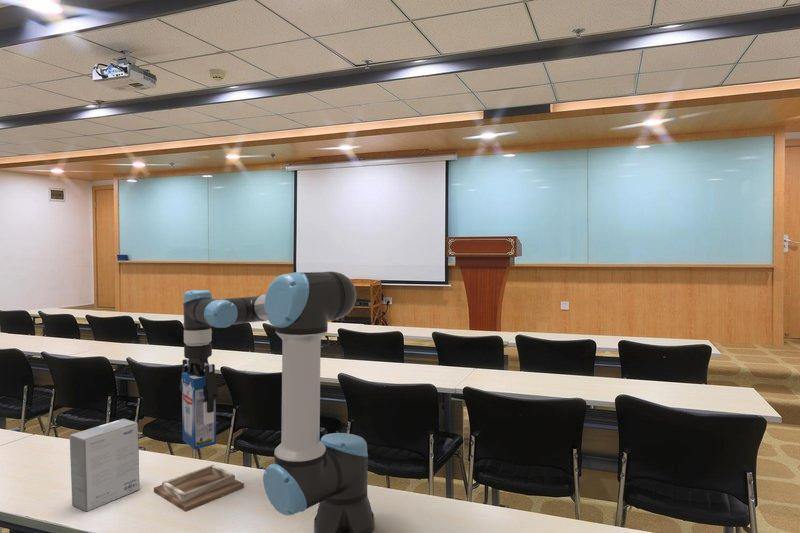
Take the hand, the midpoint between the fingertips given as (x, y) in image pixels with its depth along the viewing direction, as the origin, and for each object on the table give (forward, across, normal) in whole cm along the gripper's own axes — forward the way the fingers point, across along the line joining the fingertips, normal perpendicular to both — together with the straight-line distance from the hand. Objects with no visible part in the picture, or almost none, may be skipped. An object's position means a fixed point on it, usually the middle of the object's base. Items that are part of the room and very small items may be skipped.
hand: (198, 419), depth 148 cm
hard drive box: (+21, +16, +19) cm, 33 cm away
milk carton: (+7, 0, 0) cm, 7 cm away
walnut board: (+21, 0, 0) cm, 21 cm away
